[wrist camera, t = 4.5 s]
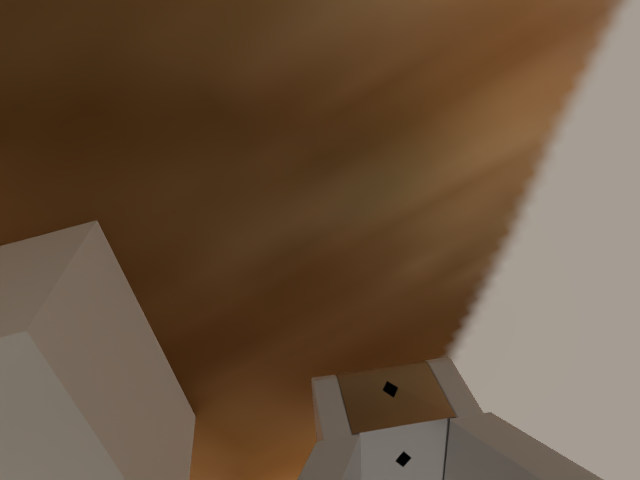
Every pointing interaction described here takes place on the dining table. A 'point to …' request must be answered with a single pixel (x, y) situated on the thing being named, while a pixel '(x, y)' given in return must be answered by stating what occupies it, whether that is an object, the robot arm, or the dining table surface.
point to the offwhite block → (83, 369)
